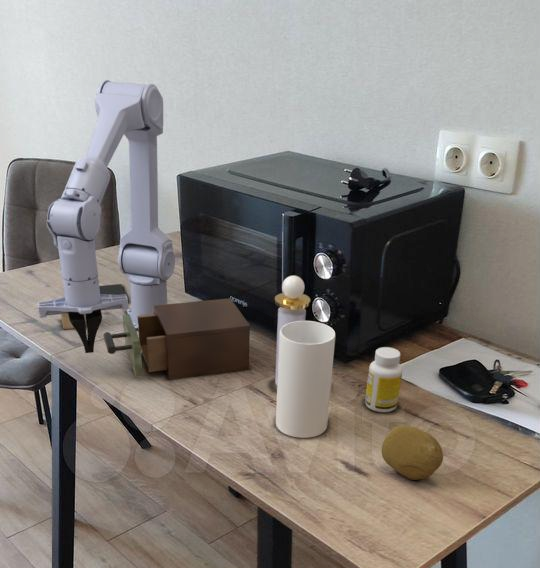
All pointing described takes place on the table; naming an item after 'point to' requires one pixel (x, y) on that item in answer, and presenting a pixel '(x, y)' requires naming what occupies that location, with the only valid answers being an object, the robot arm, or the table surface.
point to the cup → (304, 378)
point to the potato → (412, 452)
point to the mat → (112, 290)
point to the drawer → (142, 343)
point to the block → (67, 321)
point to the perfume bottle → (290, 307)
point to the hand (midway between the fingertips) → (89, 350)
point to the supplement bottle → (384, 380)
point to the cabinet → (204, 337)
